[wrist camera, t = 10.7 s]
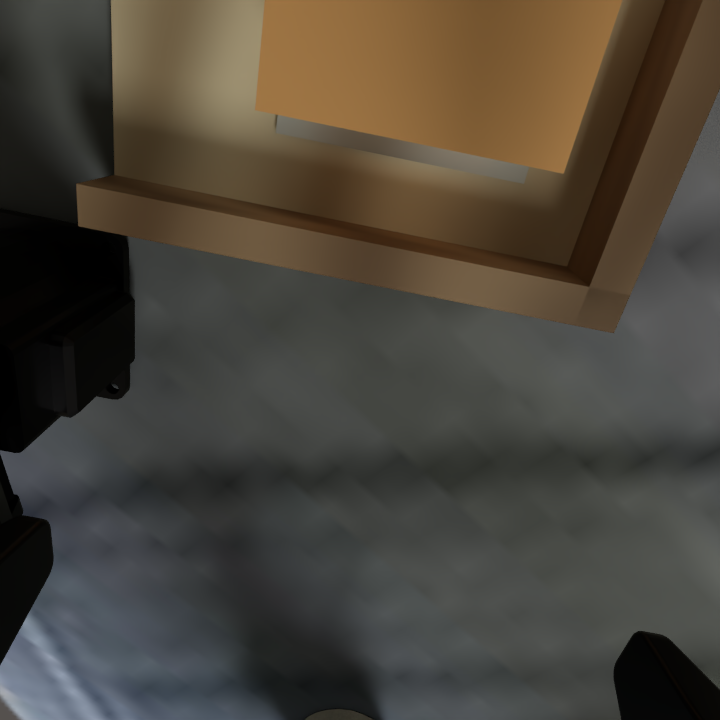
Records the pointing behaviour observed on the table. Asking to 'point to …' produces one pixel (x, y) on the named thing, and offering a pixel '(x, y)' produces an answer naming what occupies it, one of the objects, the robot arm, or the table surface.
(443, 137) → the cube
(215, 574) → the table surface
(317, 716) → the house plant
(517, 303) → the arena
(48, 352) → the robot arm
